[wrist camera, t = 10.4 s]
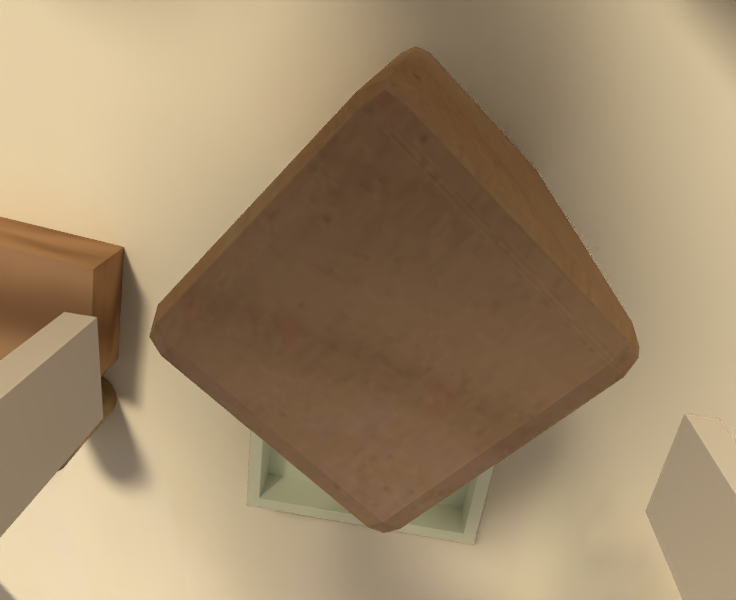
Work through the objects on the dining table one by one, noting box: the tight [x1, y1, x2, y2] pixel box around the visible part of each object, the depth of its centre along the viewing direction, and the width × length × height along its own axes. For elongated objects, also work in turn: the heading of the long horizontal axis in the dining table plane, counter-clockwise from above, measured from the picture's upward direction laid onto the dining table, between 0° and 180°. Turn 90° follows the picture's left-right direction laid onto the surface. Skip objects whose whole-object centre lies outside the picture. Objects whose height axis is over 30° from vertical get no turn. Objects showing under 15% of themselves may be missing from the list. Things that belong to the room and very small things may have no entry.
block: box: [150, 47, 639, 533], centre depth 25 cm, size 10×10×20 cm
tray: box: [247, 431, 494, 545], centre depth 39 cm, size 15×15×3 cm
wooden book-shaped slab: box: [0, 217, 124, 375], centre depth 38 cm, size 8×12×4 cm, turn 78°
